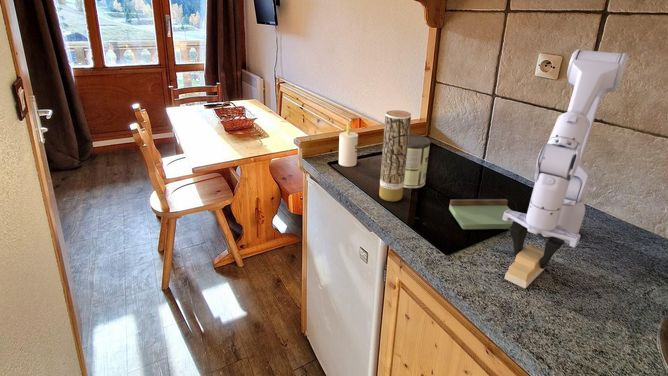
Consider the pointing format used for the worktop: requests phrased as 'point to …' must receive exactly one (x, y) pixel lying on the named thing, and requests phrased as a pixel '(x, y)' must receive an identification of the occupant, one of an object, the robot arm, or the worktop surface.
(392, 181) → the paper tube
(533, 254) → the wooden step block
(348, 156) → the candle
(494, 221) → the green board
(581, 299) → the worktop surface
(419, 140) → the coffee can
